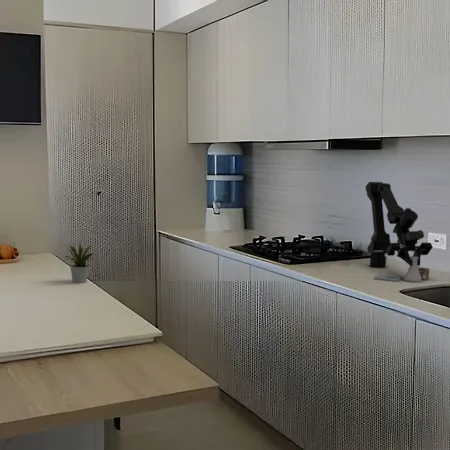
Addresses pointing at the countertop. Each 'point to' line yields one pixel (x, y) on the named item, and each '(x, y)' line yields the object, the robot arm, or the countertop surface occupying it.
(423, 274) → the letter cube
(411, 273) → the flask
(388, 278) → the grey coaster
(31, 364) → the countertop surface
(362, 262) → the countertop surface
